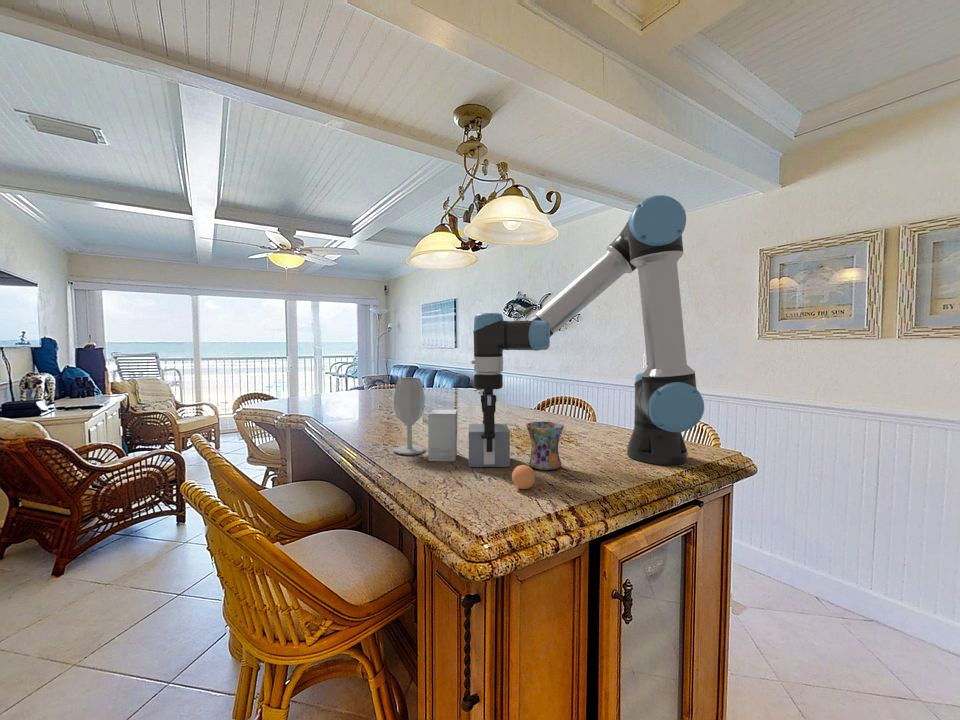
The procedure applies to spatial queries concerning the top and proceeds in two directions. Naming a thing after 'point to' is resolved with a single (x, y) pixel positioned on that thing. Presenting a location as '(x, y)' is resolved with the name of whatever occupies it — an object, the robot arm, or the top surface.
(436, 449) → the supplement box
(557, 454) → the mug
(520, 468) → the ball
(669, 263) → the robot arm
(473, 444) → the gray tilted carton
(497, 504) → the top surface
